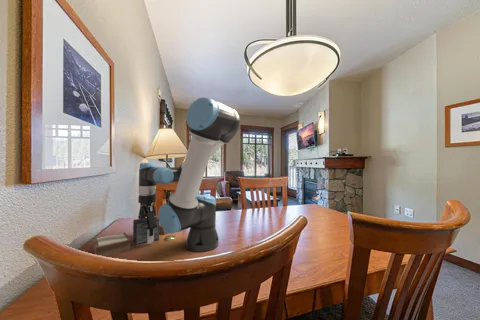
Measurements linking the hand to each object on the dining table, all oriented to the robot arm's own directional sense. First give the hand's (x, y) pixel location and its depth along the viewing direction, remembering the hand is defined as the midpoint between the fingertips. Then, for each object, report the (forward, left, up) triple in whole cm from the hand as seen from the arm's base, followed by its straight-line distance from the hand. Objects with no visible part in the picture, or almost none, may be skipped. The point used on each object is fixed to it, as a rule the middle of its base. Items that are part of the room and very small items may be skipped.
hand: (146, 237), depth 92 cm
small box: (0, 0, -2) cm, 2 cm away
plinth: (0, +14, -1) cm, 14 cm away
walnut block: (+5, -11, -1) cm, 12 cm away
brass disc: (-5, -10, -2) cm, 11 cm away
